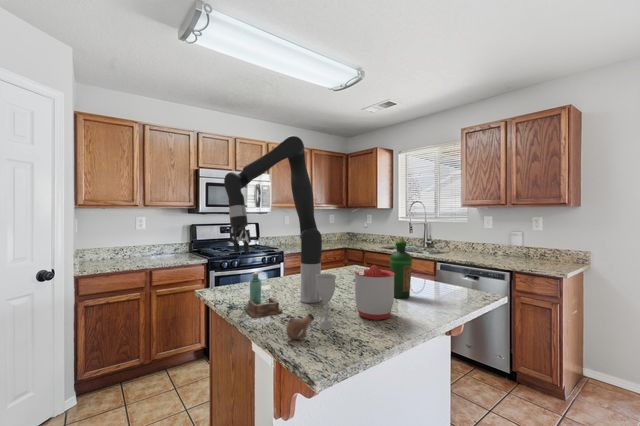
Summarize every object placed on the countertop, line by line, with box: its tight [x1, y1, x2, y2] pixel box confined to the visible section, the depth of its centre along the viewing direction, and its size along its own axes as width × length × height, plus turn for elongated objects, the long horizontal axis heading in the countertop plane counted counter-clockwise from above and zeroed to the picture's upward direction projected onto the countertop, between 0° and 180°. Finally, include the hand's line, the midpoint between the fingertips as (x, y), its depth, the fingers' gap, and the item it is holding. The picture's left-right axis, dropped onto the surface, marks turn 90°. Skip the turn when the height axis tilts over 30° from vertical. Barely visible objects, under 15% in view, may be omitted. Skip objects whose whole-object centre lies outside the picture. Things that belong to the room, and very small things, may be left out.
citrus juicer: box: [352, 264, 395, 321], centre depth 124 cm, size 16×17×20 cm
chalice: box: [316, 273, 337, 330], centre depth 111 cm, size 7×7×18 cm
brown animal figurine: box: [285, 313, 315, 341], centre depth 100 cm, size 9×4×8 cm, turn 103°
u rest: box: [243, 297, 283, 319], centre depth 128 cm, size 12×12×4 cm
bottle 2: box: [389, 237, 413, 300], centre depth 151 cm, size 11×11×28 cm
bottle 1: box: [249, 271, 262, 305], centre depth 141 cm, size 5×5×13 cm
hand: (242, 252), depth 140 cm, fingers open, 8 cm apart
